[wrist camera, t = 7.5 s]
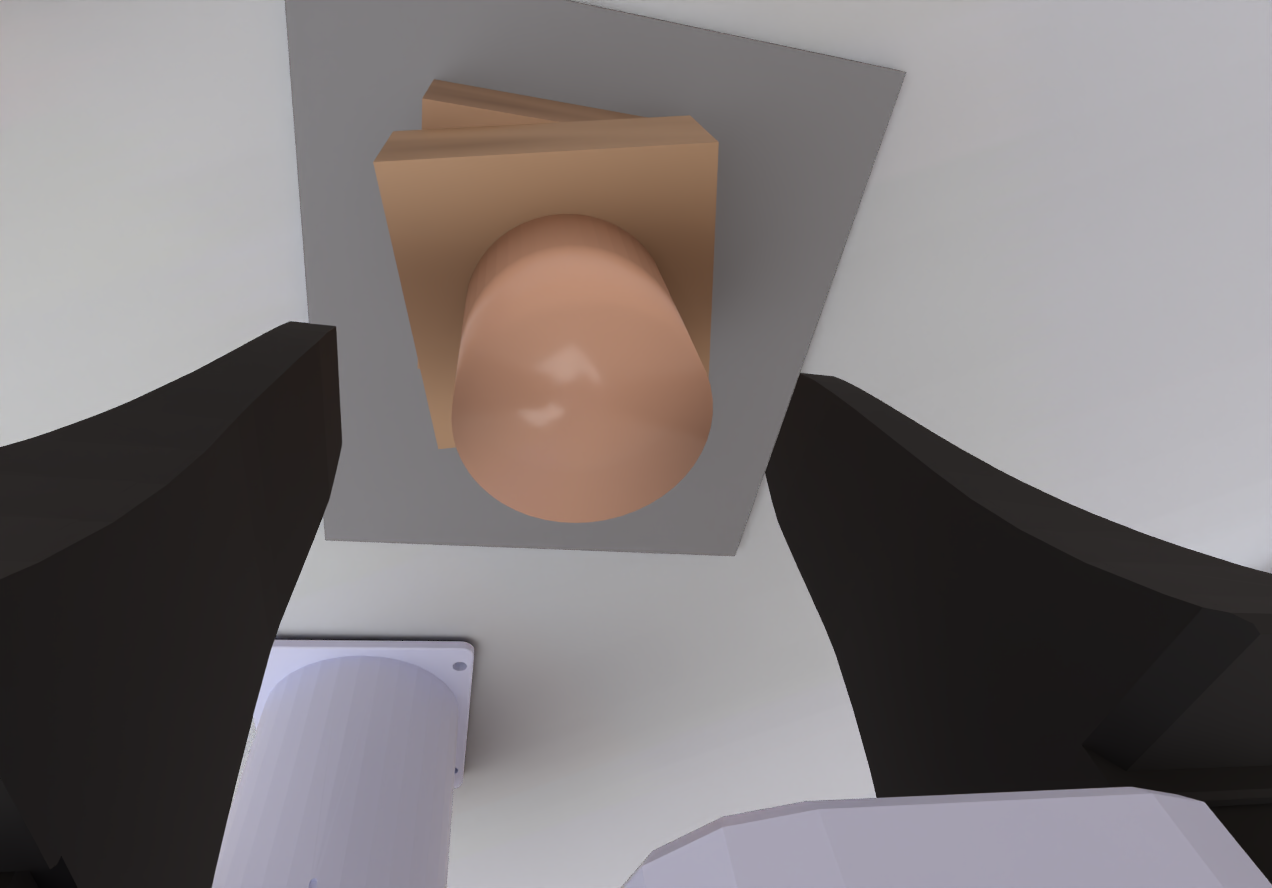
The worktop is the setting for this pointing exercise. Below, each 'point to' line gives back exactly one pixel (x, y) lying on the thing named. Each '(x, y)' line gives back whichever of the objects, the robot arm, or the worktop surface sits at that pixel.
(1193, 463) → the worktop surface
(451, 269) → the walnut block upper
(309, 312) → the slate mat
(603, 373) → the peach rounded cylinder
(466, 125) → the walnut block lower
